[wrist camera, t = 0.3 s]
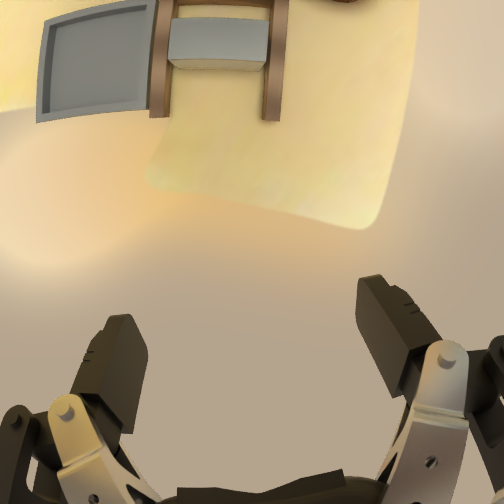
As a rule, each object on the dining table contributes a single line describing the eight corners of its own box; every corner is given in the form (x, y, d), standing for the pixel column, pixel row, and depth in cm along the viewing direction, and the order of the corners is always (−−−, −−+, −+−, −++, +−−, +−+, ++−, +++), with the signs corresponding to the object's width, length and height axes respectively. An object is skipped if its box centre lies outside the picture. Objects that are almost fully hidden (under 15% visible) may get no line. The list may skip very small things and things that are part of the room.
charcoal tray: (54, 24, 22) (44, 20, 20) (161, 3, 24) (156, -4, 22) (46, 121, 29) (36, 123, 26) (151, 109, 30) (145, 109, 28)
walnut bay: (168, -8, 23) (162, -18, 20) (284, -4, 25) (289, -14, 22) (156, 117, 31) (149, 118, 27) (274, 120, 32) (279, 121, 29)
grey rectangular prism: (182, 35, 26) (171, 18, 20) (260, 37, 27) (269, 21, 21) (179, 69, 28) (167, 59, 22) (258, 71, 29) (265, 61, 23)
